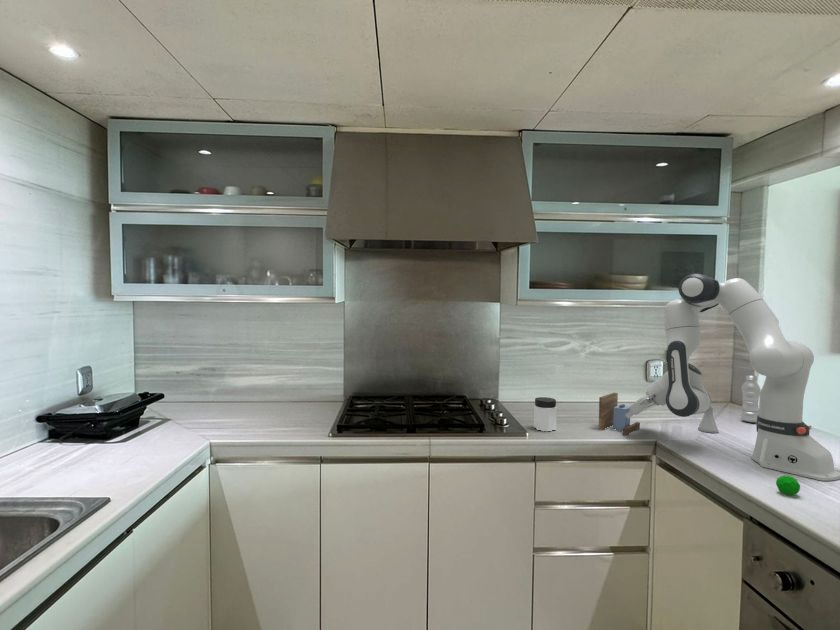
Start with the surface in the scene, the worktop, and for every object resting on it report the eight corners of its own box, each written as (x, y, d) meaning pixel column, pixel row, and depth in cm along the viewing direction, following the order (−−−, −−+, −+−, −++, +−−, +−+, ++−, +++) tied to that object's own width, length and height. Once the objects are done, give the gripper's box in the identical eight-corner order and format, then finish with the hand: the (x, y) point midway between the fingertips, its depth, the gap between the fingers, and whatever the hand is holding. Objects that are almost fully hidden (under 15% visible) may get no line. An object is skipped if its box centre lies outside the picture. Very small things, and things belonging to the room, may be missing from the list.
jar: (558, 432, 178) (559, 401, 178) (538, 432, 178) (538, 401, 178) (551, 425, 187) (551, 396, 187) (531, 425, 187) (532, 396, 187)
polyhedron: (802, 499, 120) (802, 481, 120) (779, 495, 122) (779, 478, 122) (796, 492, 124) (796, 474, 124) (773, 488, 126) (774, 471, 126)
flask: (722, 434, 178) (723, 408, 178) (701, 432, 180) (702, 407, 179) (714, 429, 185) (715, 404, 185) (694, 427, 187) (695, 403, 186)
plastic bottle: (757, 425, 192) (759, 377, 191) (738, 421, 197) (740, 375, 196) (761, 422, 196) (763, 376, 195) (742, 419, 201) (744, 374, 200)
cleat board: (639, 428, 185) (640, 396, 184) (625, 435, 175) (626, 401, 174) (613, 423, 192) (614, 392, 192) (598, 429, 183) (599, 397, 182)
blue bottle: (629, 429, 183) (630, 404, 183) (624, 432, 180) (625, 406, 179) (618, 427, 186) (619, 402, 186) (613, 429, 183) (613, 404, 183)
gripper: (655, 404, 164) (626, 426, 171) (674, 396, 178) (646, 416, 186) (642, 390, 167) (615, 412, 174) (661, 383, 181) (635, 403, 189)
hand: (631, 414), depth 180 cm, fingers open, 8 cm apart
